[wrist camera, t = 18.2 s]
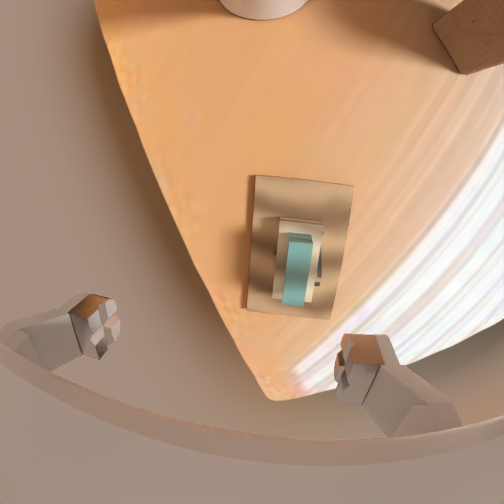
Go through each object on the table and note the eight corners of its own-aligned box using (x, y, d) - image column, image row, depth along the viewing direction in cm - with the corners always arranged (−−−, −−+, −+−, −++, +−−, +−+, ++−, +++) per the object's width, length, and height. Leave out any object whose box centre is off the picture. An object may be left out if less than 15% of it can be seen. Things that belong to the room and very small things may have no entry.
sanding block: (280, 216, 41) (278, 228, 35) (321, 221, 40) (326, 233, 34) (273, 290, 45) (269, 312, 39) (310, 294, 45) (312, 316, 39)
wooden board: (256, 174, 40) (255, 175, 39) (352, 185, 39) (353, 186, 38) (247, 307, 48) (246, 310, 47) (329, 316, 47) (329, 319, 46)
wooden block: (460, 77, 29) (538, 54, 11) (428, 25, 27) (489, -22, 9) (492, 64, 26) (563, 46, 8) (462, 17, 24) (523, -20, 6)
